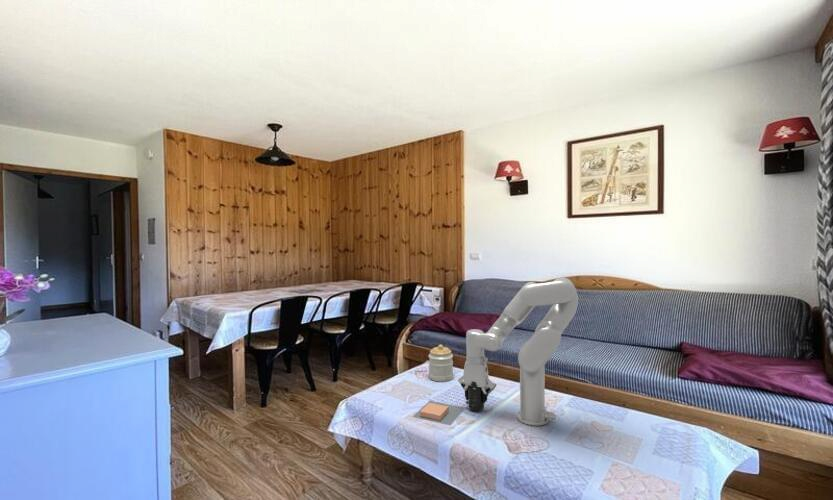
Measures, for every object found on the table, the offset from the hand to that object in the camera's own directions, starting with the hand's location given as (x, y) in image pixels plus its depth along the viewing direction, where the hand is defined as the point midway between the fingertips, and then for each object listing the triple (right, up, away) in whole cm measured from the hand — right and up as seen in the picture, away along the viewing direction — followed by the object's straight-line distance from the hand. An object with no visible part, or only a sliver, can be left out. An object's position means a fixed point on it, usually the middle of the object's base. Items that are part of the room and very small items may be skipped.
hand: (476, 400), depth 162 cm
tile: (-16, -3, 0) cm, 16 cm away
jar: (-12, -4, +39) cm, 41 cm away
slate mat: (-16, -5, -2) cm, 17 cm away
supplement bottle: (0, -3, 0) cm, 3 cm away
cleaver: (+4, -5, +18) cm, 19 cm away
